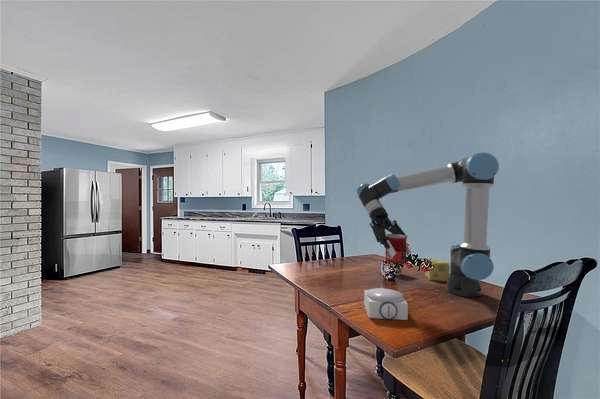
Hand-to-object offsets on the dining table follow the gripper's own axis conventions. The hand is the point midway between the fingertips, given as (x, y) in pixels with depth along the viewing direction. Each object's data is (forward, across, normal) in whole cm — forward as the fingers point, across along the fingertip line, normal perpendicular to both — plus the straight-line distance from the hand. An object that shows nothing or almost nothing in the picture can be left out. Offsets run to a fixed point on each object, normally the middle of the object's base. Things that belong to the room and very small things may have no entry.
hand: (401, 254), depth 119 cm
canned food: (0, 0, -5) cm, 5 cm away
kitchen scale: (+16, +8, -15) cm, 24 cm away
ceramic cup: (-13, -39, -45) cm, 61 cm away
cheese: (-2, -53, -34) cm, 63 cm away
